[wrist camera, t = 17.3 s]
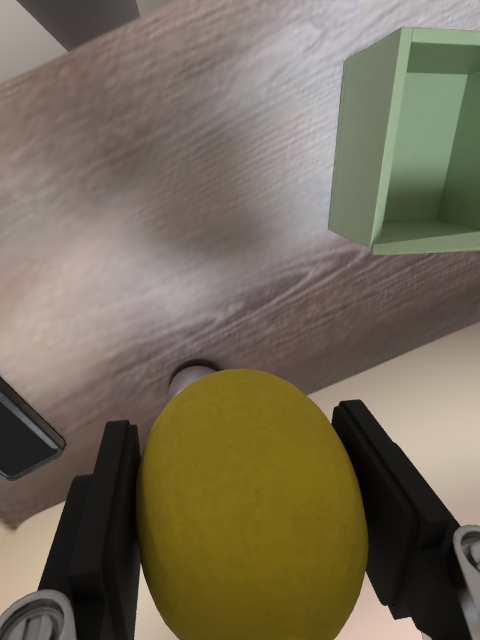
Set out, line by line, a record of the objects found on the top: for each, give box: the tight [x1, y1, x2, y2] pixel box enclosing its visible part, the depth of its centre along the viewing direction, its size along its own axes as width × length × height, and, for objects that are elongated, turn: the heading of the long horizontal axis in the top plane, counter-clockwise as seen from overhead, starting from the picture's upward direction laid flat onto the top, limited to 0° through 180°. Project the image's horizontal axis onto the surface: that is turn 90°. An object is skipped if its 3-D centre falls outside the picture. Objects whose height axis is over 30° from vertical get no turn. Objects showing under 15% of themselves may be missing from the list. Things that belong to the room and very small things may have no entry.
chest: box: [328, 27, 480, 249], centre depth 30 cm, size 14×12×9 cm
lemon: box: [135, 368, 369, 640], centre depth 9 cm, size 6×6×8 cm
